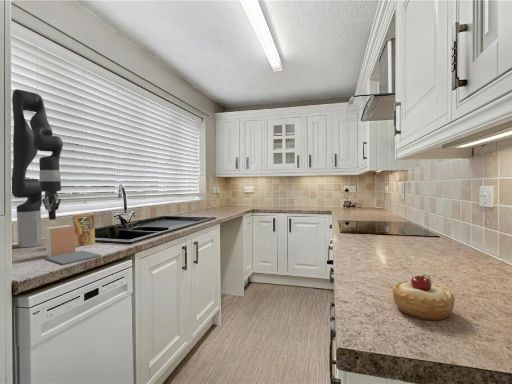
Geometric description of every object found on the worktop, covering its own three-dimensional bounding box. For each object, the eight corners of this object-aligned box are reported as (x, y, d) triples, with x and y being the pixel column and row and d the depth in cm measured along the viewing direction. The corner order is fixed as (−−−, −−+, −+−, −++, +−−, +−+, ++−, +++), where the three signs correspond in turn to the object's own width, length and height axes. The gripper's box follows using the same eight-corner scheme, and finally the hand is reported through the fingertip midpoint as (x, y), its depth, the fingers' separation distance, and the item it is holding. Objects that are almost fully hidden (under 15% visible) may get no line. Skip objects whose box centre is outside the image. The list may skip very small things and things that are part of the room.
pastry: (425, 300, 70) (425, 264, 70) (468, 322, 59) (469, 279, 58) (381, 302, 68) (382, 266, 68) (416, 326, 57) (417, 282, 57)
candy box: (93, 242, 144) (92, 212, 144) (95, 243, 141) (94, 213, 140) (73, 245, 139) (72, 214, 138) (74, 246, 135) (73, 215, 135)
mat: (45, 259, 113) (45, 257, 113) (82, 251, 125) (82, 250, 125) (63, 265, 104) (63, 263, 104) (101, 256, 116) (101, 254, 116)
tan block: (46, 256, 118) (45, 227, 118) (70, 251, 126) (69, 224, 125) (51, 257, 116) (50, 228, 115) (75, 252, 123) (74, 225, 123)
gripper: (34, 181, 125) (36, 220, 125) (46, 180, 117) (49, 221, 118) (53, 181, 131) (55, 218, 131) (66, 180, 124) (68, 219, 124)
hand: (52, 219), depth 125 cm, fingers closed
